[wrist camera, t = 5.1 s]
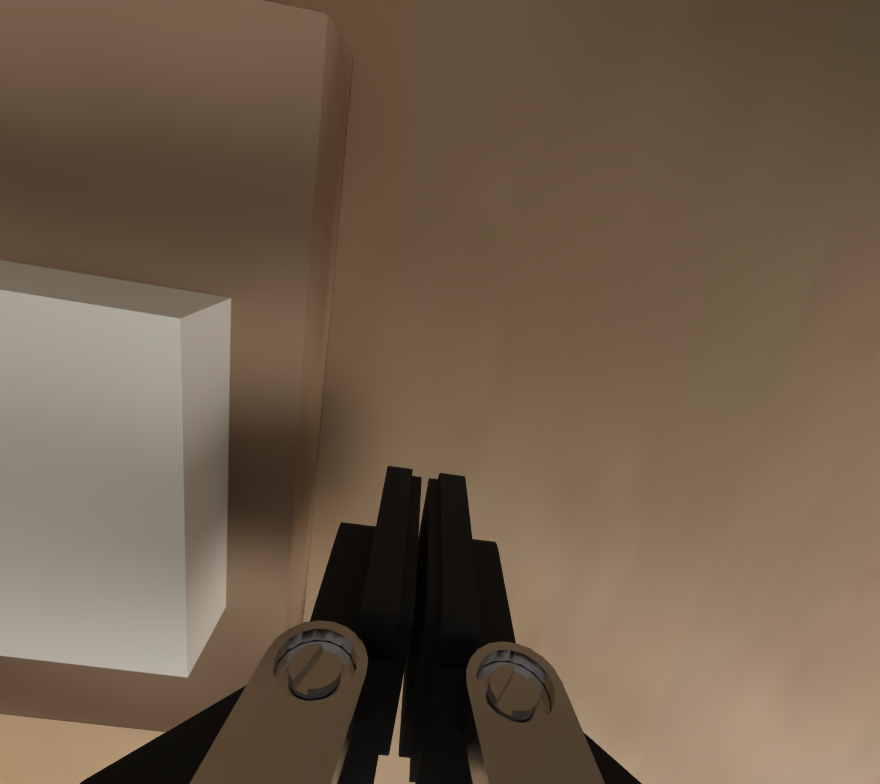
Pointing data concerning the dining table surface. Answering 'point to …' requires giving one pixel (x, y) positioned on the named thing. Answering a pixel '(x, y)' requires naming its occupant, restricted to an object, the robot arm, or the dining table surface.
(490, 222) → the dining table surface
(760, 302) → the dining table surface
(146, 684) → the board
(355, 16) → the dining table surface
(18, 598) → the tile
